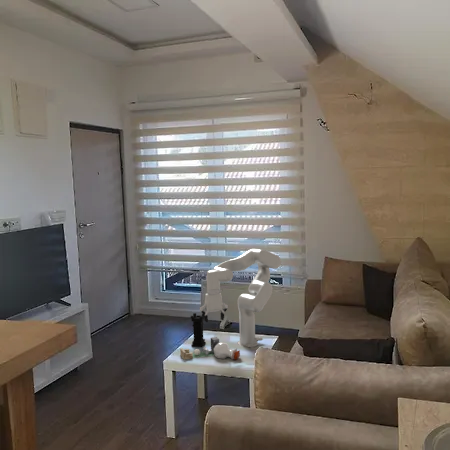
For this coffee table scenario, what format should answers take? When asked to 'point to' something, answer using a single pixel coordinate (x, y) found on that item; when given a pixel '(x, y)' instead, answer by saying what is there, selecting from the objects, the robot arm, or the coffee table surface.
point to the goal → (186, 354)
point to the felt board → (201, 355)
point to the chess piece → (198, 330)
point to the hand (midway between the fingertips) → (214, 320)
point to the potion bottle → (225, 351)
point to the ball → (196, 351)
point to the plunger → (213, 342)
